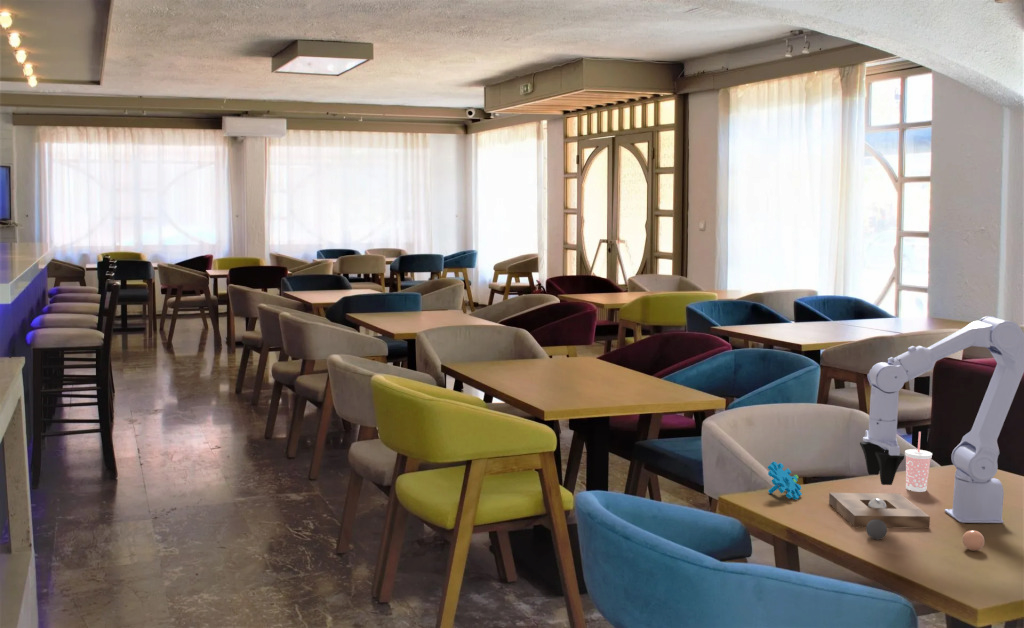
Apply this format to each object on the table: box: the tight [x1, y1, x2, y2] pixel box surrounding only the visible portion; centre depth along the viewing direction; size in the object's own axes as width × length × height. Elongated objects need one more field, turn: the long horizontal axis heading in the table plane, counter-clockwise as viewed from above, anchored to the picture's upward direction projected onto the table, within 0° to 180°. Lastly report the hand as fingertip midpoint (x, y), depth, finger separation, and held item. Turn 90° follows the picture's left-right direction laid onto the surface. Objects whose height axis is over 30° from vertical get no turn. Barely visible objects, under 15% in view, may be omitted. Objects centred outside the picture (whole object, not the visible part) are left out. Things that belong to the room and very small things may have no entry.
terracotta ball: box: [961, 529, 985, 552], centre depth 195 cm, size 4×4×4 cm
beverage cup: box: [904, 431, 933, 493], centre depth 235 cm, size 6×6×14 cm
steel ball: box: [868, 498, 887, 509], centre depth 215 cm, size 4×4×4 cm
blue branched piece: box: [767, 461, 803, 501], centre depth 230 cm, size 11×6×10 cm
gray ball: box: [865, 519, 888, 540], centre depth 201 cm, size 4×4×4 cm
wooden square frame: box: [828, 492, 931, 529], centre depth 216 cm, size 16×16×2 cm
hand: (879, 479), depth 215 cm, fingers open, 7 cm apart
